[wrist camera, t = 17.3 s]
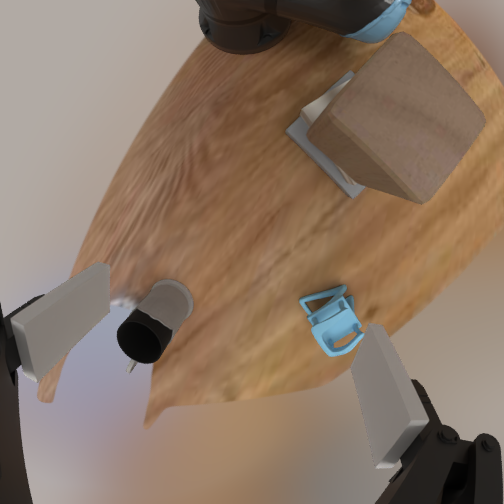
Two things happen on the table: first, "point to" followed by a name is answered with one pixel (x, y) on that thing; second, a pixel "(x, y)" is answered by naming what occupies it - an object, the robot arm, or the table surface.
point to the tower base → (326, 164)
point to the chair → (333, 320)
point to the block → (399, 122)
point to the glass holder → (154, 322)
